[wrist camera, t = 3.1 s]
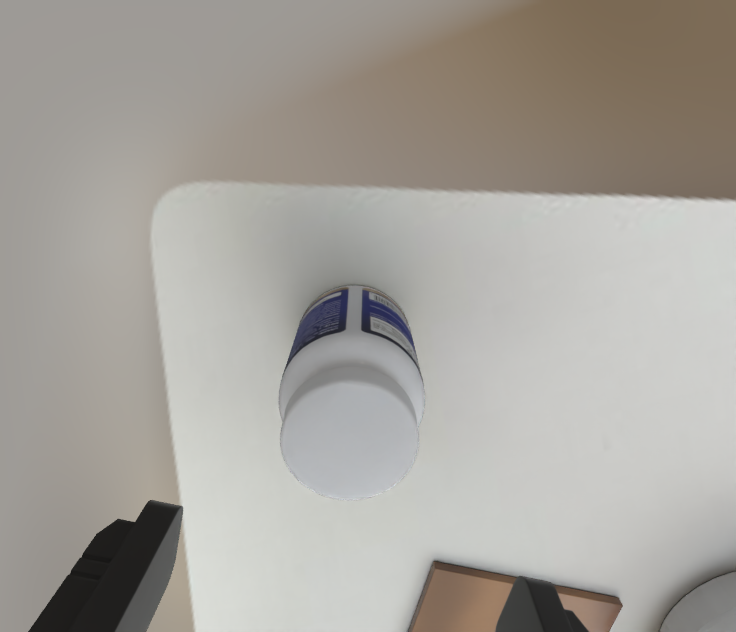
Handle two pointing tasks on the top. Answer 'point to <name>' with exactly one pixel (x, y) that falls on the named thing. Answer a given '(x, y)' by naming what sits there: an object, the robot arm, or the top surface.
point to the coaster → (493, 602)
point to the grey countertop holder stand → (705, 608)
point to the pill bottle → (351, 396)
